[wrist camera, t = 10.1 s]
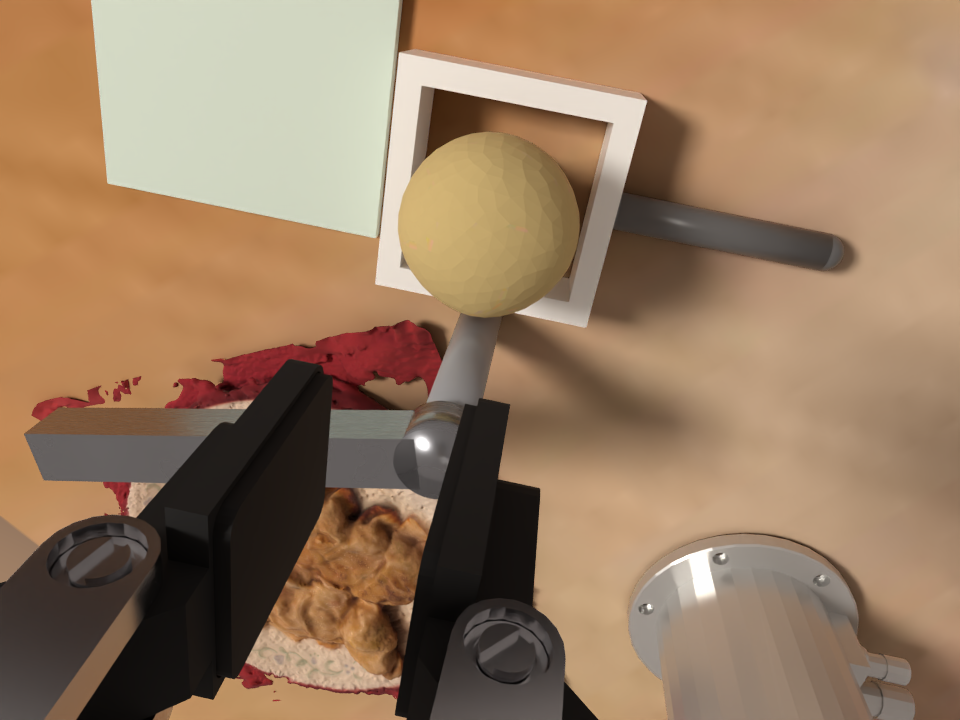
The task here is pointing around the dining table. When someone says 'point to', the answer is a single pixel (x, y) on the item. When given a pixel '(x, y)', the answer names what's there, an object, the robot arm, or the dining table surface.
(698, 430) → the dining table surface
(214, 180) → the mat
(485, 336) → the white handled box
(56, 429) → the silver metal bar
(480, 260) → the light bulb
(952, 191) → the dining table surface
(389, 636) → the plate with food
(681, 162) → the dining table surface
